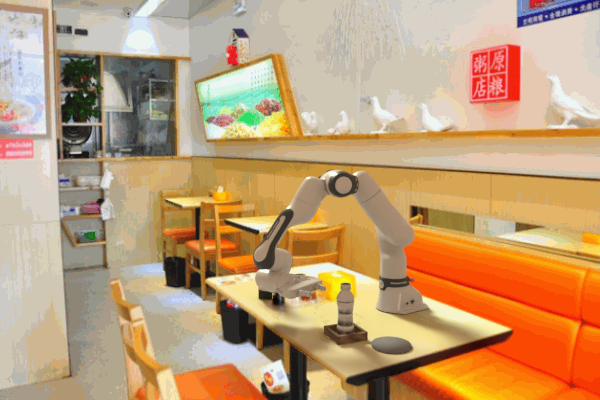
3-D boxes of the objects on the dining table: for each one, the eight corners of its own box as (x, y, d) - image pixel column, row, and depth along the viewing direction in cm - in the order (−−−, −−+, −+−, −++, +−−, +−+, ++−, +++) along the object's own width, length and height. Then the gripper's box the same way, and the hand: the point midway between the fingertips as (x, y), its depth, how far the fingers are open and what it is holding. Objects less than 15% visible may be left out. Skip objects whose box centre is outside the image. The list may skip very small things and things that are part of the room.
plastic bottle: (353, 340, 194) (354, 286, 192) (334, 339, 196) (335, 285, 193) (355, 334, 201) (355, 282, 198) (337, 332, 202) (337, 281, 200)
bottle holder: (352, 329, 206) (352, 321, 205) (367, 340, 195) (367, 332, 194) (323, 333, 201) (323, 325, 201) (337, 344, 190) (337, 336, 190)
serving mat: (397, 336, 198) (397, 334, 198) (419, 350, 186) (419, 348, 185) (364, 341, 193) (364, 339, 193) (384, 356, 180) (384, 354, 180)
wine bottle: (261, 301, 241) (261, 235, 237) (255, 296, 248) (254, 232, 245) (278, 298, 244) (278, 233, 241) (272, 293, 252) (272, 230, 248)
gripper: (272, 282, 204) (301, 289, 195) (305, 272, 220) (333, 278, 211) (272, 298, 204) (300, 306, 196) (304, 287, 220) (332, 293, 212)
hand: (317, 291), depth 204 cm, fingers open, 8 cm apart
